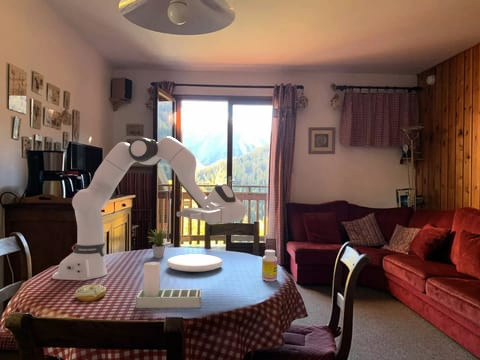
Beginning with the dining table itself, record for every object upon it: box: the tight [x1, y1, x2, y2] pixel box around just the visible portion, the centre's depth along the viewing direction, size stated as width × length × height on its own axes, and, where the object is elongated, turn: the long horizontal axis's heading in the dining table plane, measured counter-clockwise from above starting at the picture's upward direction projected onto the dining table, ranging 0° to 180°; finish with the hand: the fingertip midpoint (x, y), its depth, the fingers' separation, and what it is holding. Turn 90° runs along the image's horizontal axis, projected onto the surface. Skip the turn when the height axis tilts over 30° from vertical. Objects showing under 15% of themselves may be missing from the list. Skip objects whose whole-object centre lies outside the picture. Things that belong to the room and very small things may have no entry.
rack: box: [135, 288, 203, 309], centre depth 131 cm, size 22×9×4 cm, turn 94°
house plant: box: [147, 227, 171, 259], centre depth 205 cm, size 14×14×16 cm
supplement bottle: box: [261, 249, 278, 282], centre depth 163 cm, size 7×7×13 cm
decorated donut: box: [74, 284, 107, 302], centre depth 136 cm, size 10×11×4 cm
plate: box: [166, 253, 223, 273], centre depth 181 cm, size 28×6×27 cm
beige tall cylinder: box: [143, 261, 161, 297], centre depth 131 cm, size 6×6×13 cm
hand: (183, 215), depth 144 cm, fingers open, 8 cm apart
